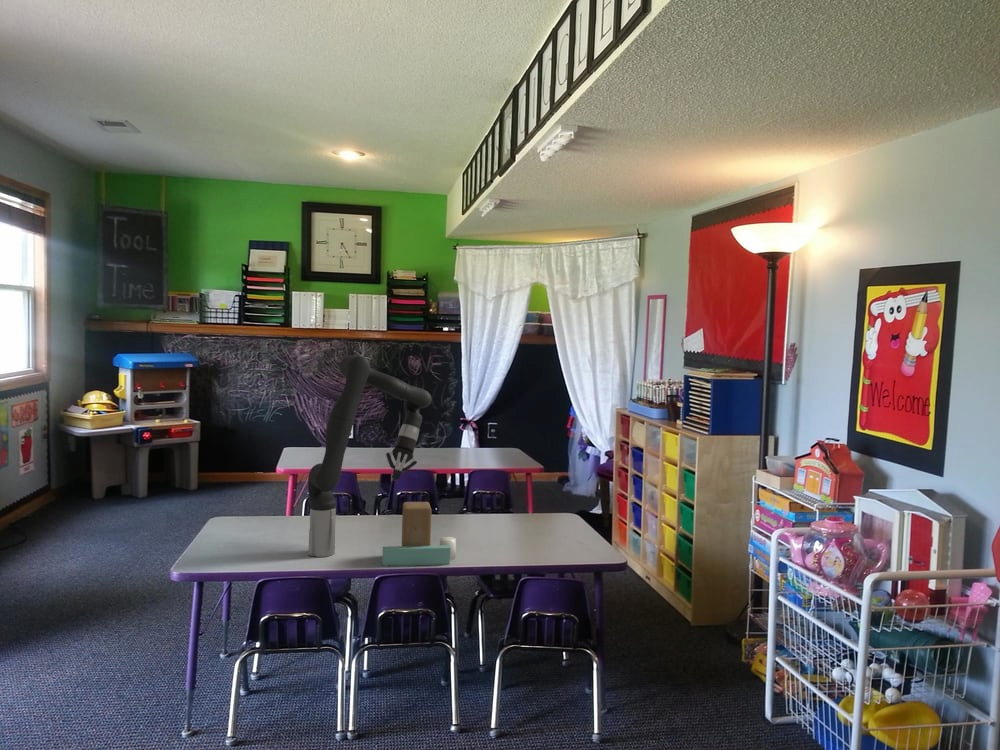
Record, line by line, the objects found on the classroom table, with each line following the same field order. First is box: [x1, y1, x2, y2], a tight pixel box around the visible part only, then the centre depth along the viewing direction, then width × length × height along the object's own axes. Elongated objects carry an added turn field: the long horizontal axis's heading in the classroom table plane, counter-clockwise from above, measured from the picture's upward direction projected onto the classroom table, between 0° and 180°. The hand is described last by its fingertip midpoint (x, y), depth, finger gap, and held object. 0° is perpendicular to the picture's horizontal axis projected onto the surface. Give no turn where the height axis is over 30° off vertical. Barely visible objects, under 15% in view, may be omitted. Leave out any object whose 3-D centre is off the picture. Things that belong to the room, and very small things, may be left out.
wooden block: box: [401, 501, 432, 546], centre depth 257 cm, size 10×10×20 cm
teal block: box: [381, 545, 451, 567], centre depth 251 cm, size 24×3×6 cm, turn 100°
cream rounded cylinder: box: [439, 536, 457, 561], centre depth 259 cm, size 6×6×7 cm
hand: (394, 480), depth 268 cm, fingers closed
